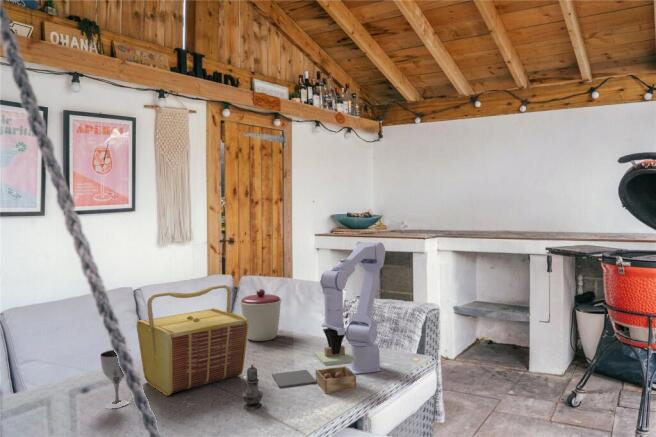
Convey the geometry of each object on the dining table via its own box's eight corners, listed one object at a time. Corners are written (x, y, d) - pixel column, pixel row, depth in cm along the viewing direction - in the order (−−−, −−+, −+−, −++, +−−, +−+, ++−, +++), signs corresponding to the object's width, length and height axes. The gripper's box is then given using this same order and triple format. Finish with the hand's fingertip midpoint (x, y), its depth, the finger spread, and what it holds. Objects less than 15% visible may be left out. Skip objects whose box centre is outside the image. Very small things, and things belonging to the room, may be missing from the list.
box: (345, 378, 162) (345, 366, 162) (356, 389, 153) (356, 376, 152) (315, 382, 159) (315, 369, 159) (325, 393, 150) (324, 380, 149)
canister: (291, 338, 213) (290, 288, 212) (256, 346, 200) (255, 294, 200) (266, 330, 226) (265, 284, 225) (232, 338, 214) (230, 289, 213)
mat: (306, 371, 170) (306, 369, 170) (316, 383, 158) (316, 381, 158) (272, 375, 166) (271, 373, 166) (279, 388, 154) (279, 386, 154)
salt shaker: (259, 411, 138) (258, 368, 137) (239, 409, 139) (238, 367, 138) (266, 402, 143) (265, 361, 143) (246, 401, 144) (245, 360, 144)
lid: (344, 354, 162) (344, 341, 162) (356, 364, 152) (356, 350, 152) (314, 357, 159) (313, 344, 159) (323, 367, 149) (323, 353, 149)
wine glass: (113, 412, 139) (111, 358, 138) (96, 406, 143) (94, 354, 142) (137, 402, 145) (136, 351, 145) (120, 397, 150) (119, 347, 149)
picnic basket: (167, 403, 144) (164, 300, 143) (134, 381, 163) (131, 290, 162) (253, 379, 163) (251, 288, 162) (214, 361, 182) (212, 280, 182)
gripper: (315, 305, 161) (315, 347, 161) (328, 315, 147) (329, 360, 147) (335, 304, 163) (336, 345, 163) (351, 313, 149) (351, 358, 150)
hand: (334, 352), depth 156 cm, fingers closed on lid, 2 cm apart
